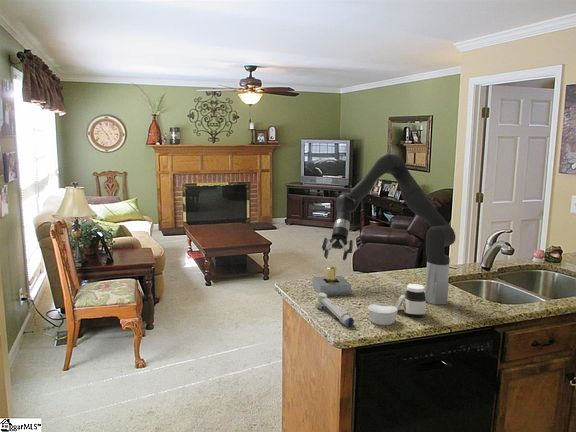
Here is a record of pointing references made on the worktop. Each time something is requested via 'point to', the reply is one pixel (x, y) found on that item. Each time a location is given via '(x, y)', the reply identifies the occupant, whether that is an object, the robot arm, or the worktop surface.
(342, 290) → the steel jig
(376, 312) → the ramekin
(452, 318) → the worktop surface
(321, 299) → the grey blue-tipped handle
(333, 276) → the brass bushing
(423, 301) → the spread jar
